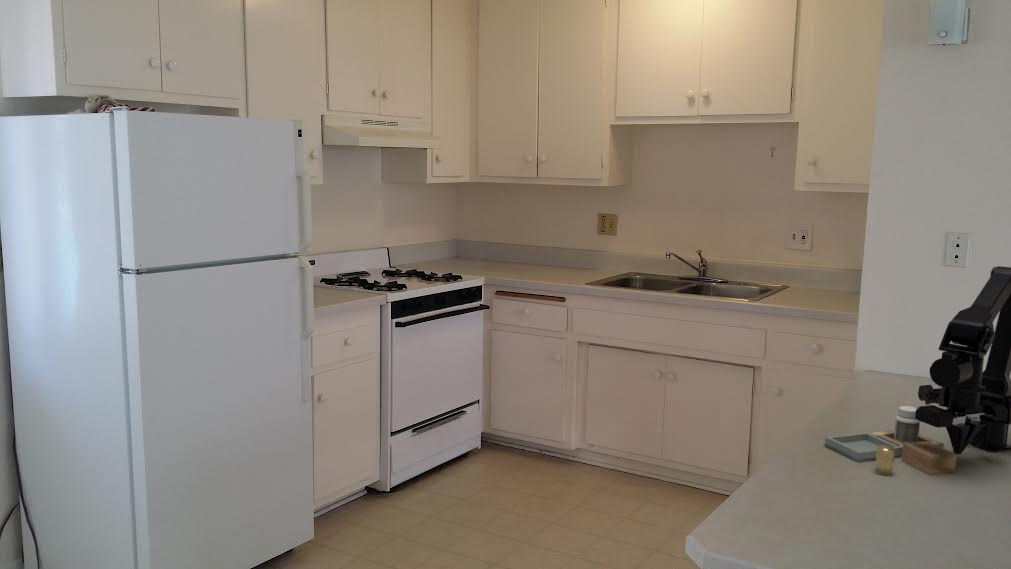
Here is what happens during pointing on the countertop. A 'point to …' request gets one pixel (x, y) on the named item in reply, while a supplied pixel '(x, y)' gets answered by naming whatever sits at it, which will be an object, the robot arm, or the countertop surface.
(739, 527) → the countertop surface
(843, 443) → the tray
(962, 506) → the countertop surface
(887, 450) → the bench dog
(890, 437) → the socket collar
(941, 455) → the brown cardboard box
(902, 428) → the pill bottle
